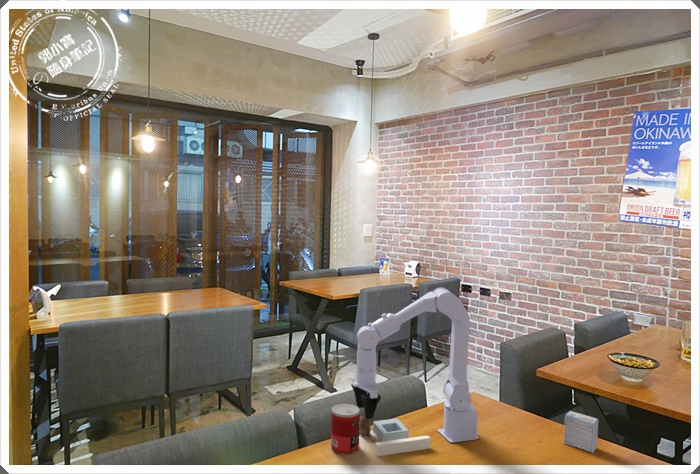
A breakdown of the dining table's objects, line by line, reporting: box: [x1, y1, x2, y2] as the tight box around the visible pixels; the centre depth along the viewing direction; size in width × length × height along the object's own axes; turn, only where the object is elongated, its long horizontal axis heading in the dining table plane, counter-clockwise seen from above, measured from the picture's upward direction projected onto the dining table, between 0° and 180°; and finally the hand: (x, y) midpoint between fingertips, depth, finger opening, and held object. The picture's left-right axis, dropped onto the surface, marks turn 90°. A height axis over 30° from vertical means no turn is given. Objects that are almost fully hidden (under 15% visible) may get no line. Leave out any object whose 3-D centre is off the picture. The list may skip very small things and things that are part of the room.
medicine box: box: [563, 410, 599, 454], centre depth 131 cm, size 8×4×9 cm, turn 47°
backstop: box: [374, 434, 431, 457], centre depth 126 cm, size 16×2×3 cm, turn 108°
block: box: [372, 418, 410, 442], centre depth 134 cm, size 8×8×3 cm
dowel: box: [359, 414, 372, 437], centre depth 135 cm, size 3×3×5 cm
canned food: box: [330, 403, 361, 455], centre depth 126 cm, size 8×8×11 cm
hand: (364, 412), depth 135 cm, fingers open, 7 cm apart
